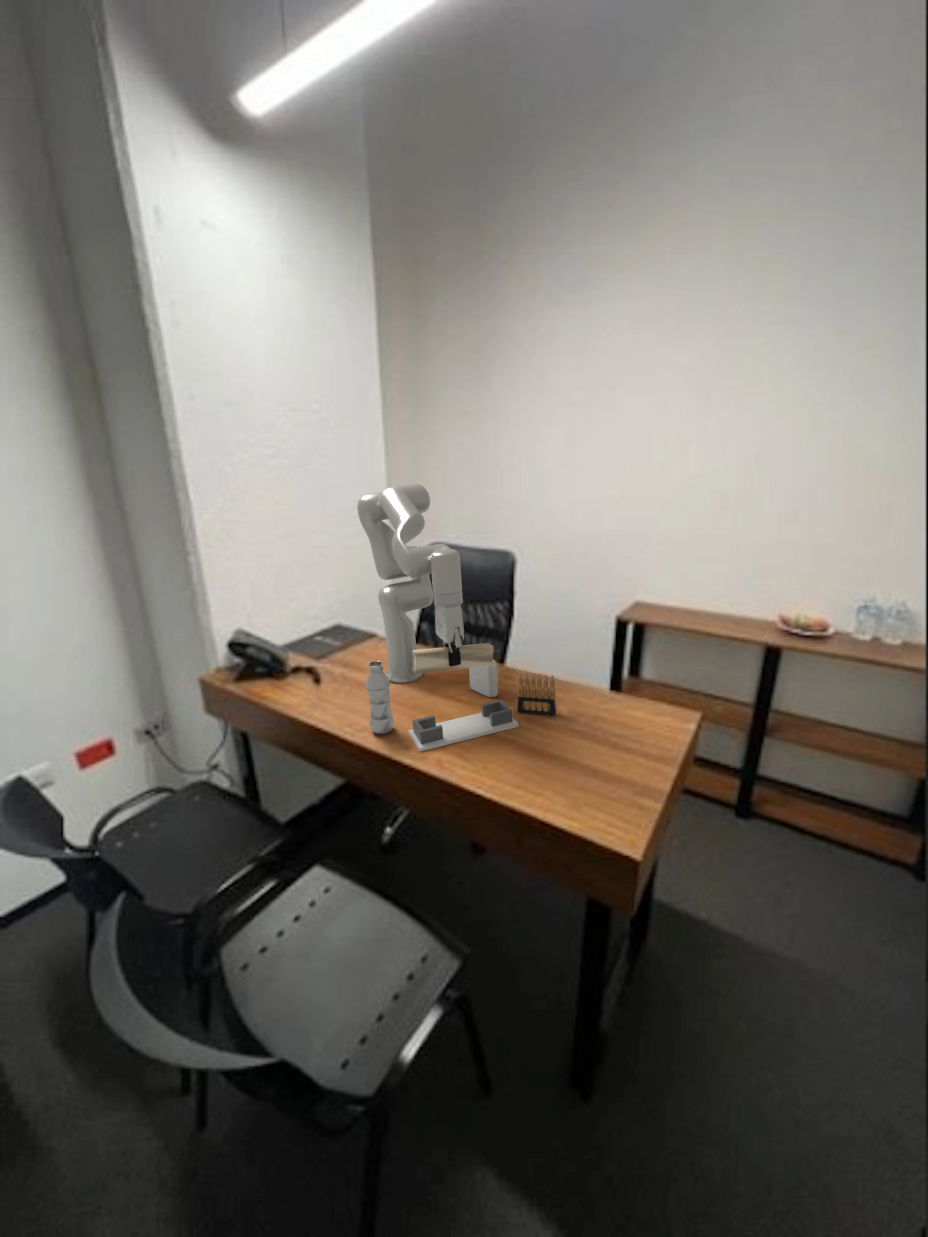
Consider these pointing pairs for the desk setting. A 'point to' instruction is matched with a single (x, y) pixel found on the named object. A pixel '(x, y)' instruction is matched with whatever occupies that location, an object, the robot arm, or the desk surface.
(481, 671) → the photo printer
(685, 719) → the desk surface
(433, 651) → the slat
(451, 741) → the end cap board
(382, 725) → the plastic bottle
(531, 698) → the ammunition clip
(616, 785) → the desk surface
